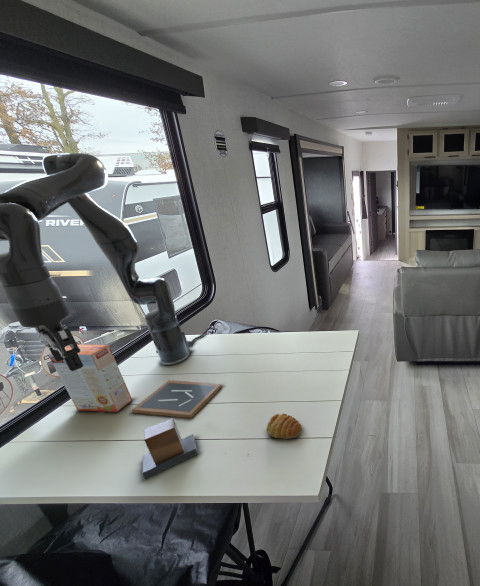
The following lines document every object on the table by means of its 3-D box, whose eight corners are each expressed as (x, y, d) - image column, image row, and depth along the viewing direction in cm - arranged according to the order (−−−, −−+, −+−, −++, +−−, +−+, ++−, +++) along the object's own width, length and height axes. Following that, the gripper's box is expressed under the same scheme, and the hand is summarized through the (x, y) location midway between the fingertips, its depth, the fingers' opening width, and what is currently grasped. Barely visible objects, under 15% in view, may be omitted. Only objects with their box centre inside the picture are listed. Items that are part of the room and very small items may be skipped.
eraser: (145, 461, 78) (131, 431, 74) (194, 439, 84) (184, 410, 80) (145, 479, 74) (130, 448, 70) (197, 454, 80) (186, 424, 76)
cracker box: (134, 399, 100) (109, 343, 92) (117, 413, 94) (89, 355, 86) (95, 397, 101) (68, 342, 93) (76, 410, 96) (45, 353, 88)
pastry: (307, 425, 87) (305, 415, 86) (293, 444, 81) (291, 434, 80) (279, 418, 90) (277, 408, 89) (264, 436, 84) (261, 425, 83)
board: (169, 383, 107) (168, 380, 107) (221, 387, 104) (220, 384, 104) (133, 412, 94) (131, 409, 94) (191, 418, 91) (190, 414, 91)
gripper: (73, 299, 65) (103, 363, 72) (49, 289, 72) (77, 348, 78) (22, 313, 59) (59, 382, 66) (0, 301, 66) (36, 364, 72)
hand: (69, 364), depth 72 cm, fingers open, 8 cm apart
